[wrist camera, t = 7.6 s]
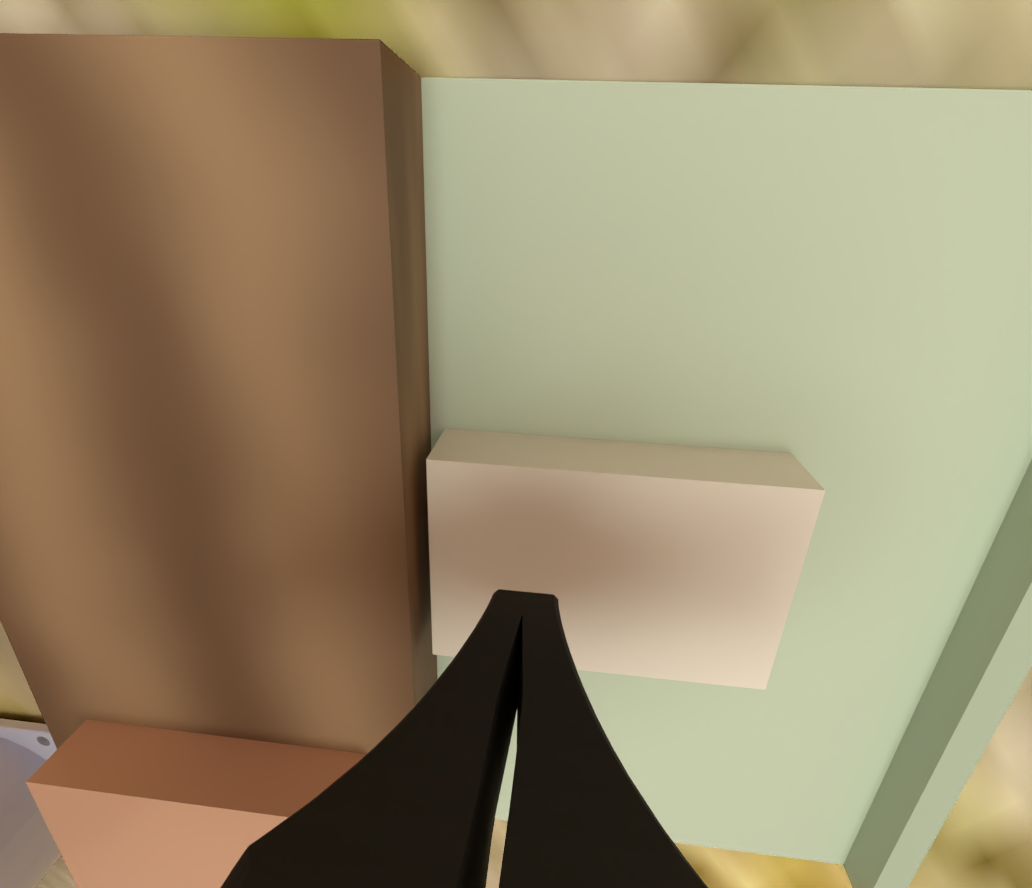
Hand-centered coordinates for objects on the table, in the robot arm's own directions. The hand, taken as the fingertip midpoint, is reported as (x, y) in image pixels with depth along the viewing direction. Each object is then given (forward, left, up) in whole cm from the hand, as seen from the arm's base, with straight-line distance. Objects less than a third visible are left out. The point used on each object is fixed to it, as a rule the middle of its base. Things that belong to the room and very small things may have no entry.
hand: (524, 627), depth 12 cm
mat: (+5, -1, -4) cm, 7 cm away
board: (-9, -1, -4) cm, 10 cm away
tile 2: (+2, 0, -4) cm, 4 cm away
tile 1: (-9, -10, -1) cm, 13 cm away
